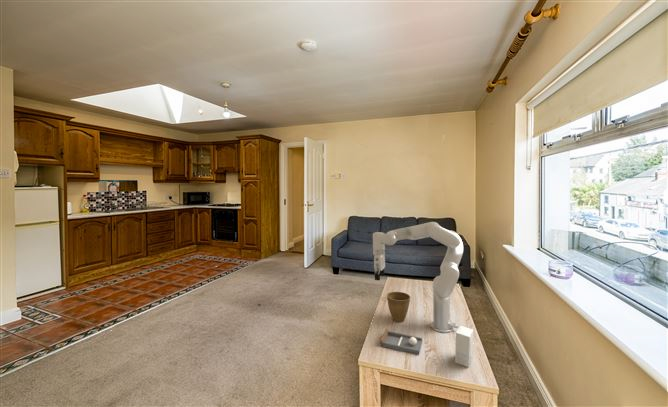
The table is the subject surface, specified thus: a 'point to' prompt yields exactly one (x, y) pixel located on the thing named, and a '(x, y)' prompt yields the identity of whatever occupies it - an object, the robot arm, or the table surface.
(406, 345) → the tray
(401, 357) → the table surface
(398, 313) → the plant pot
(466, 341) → the skincare box
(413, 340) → the ball
